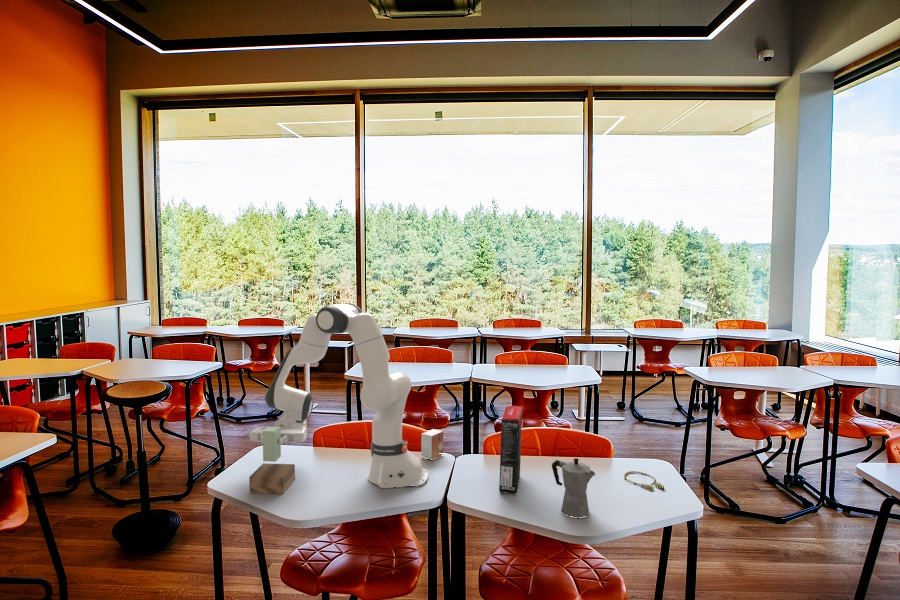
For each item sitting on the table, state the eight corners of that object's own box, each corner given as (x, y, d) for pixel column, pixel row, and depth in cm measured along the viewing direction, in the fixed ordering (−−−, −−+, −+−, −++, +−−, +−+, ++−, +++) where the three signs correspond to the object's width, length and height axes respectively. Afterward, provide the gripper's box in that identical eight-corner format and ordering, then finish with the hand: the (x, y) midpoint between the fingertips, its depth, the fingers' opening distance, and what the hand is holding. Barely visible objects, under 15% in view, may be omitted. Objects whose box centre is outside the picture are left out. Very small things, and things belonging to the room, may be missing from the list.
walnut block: (295, 479, 200) (294, 464, 200) (283, 494, 188) (282, 477, 188) (263, 479, 201) (263, 463, 200) (249, 493, 189) (249, 476, 188)
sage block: (280, 456, 196) (280, 426, 195) (275, 461, 191) (274, 431, 190) (268, 455, 196) (268, 426, 195) (263, 461, 191) (262, 431, 190)
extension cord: (630, 491, 193) (630, 486, 192) (620, 473, 208) (620, 468, 208) (665, 492, 192) (665, 487, 191) (652, 474, 207) (653, 469, 207)
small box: (431, 461, 219) (431, 436, 218) (421, 458, 222) (420, 433, 221) (443, 455, 225) (443, 431, 224) (433, 452, 228) (433, 428, 227)
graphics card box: (503, 474, 206) (504, 404, 203) (521, 475, 205) (522, 405, 202) (498, 494, 189) (499, 418, 187) (518, 495, 188) (519, 419, 185)
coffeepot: (600, 512, 175) (601, 459, 174) (587, 523, 168) (588, 468, 167) (558, 498, 185) (559, 448, 184) (544, 508, 178) (545, 456, 177)
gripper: (258, 420, 206) (242, 432, 193) (310, 421, 205) (298, 434, 192) (258, 436, 207) (242, 449, 193) (310, 438, 206) (298, 451, 192)
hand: (270, 442), depth 192 cm, fingers closed on sage block, 4 cm apart
